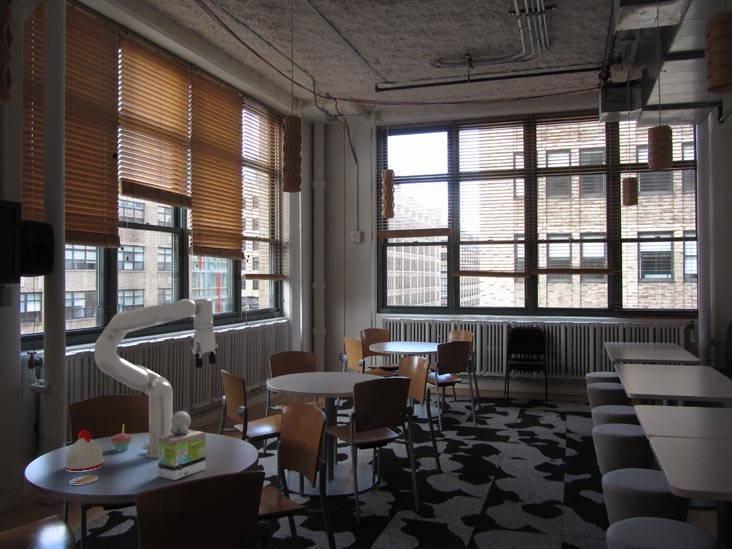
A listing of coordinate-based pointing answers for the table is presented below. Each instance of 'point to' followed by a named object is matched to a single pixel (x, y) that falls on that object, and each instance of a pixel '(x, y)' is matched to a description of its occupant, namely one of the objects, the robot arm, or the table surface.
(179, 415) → the chubby cartoon animal
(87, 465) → the white cream cake
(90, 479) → the cork coaster
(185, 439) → the tea box
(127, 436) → the cupcake
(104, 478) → the table surface
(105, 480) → the table surface
